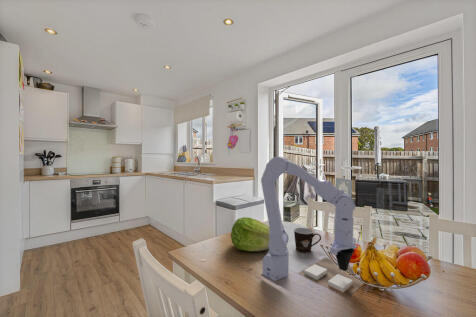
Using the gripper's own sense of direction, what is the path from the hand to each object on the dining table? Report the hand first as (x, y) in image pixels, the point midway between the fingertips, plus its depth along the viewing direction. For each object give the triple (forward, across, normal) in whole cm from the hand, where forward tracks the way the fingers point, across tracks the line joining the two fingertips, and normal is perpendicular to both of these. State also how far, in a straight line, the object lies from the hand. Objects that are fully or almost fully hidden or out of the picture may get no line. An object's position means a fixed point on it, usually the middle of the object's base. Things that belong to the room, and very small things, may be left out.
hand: (343, 269), depth 73 cm
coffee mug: (+6, +13, +23) cm, 27 cm away
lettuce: (+6, -2, +40) cm, 41 cm away
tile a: (+4, +2, +9) cm, 10 cm away
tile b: (+4, +2, 0) cm, 4 cm away
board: (+6, +4, +4) cm, 8 cm away
